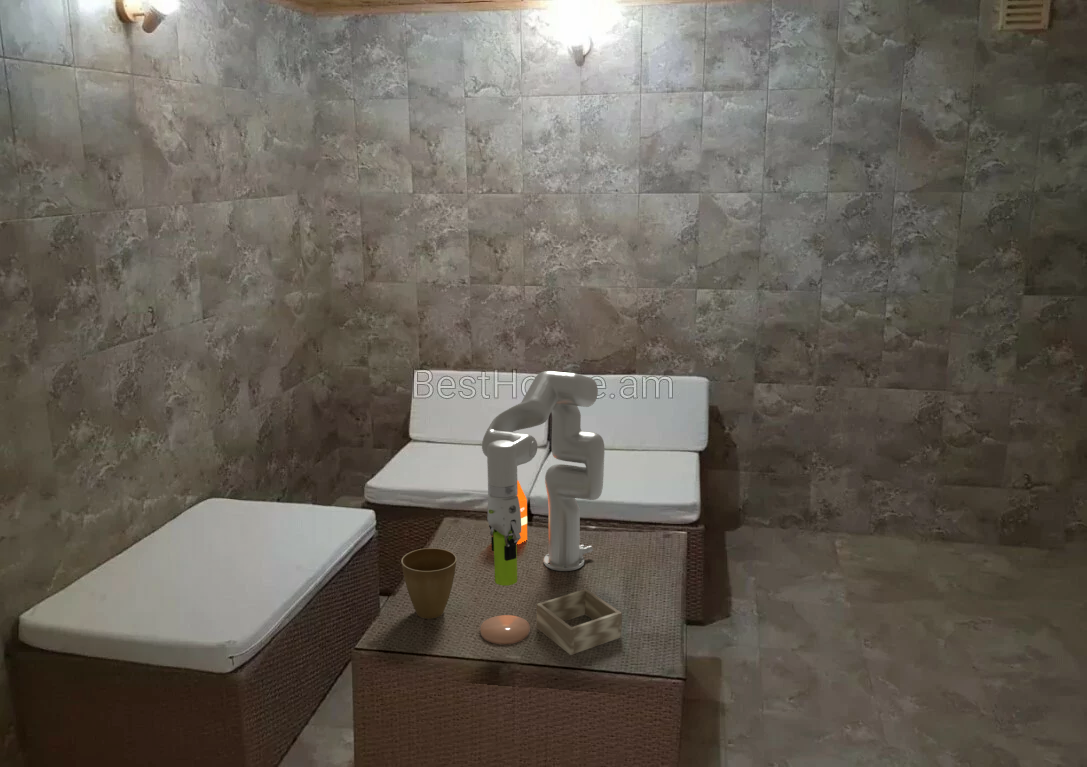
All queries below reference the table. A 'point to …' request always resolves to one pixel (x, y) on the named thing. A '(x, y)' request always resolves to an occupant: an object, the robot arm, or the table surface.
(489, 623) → the peach oval pebble
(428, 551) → the plant pot
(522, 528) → the orange juice
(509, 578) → the soap dispenser
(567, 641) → the open wooden box
